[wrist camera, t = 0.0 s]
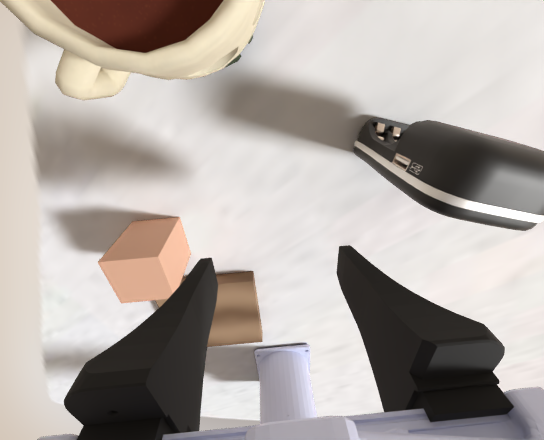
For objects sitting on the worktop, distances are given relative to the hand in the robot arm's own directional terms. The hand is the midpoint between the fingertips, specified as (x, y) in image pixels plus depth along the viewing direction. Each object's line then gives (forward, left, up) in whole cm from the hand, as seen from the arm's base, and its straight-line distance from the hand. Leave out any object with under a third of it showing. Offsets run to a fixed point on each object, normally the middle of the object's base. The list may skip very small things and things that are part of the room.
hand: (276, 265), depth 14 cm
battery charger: (+4, -11, -10) cm, 16 cm away
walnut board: (-15, +8, -11) cm, 20 cm away
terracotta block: (-4, +11, -10) cm, 15 cm away
